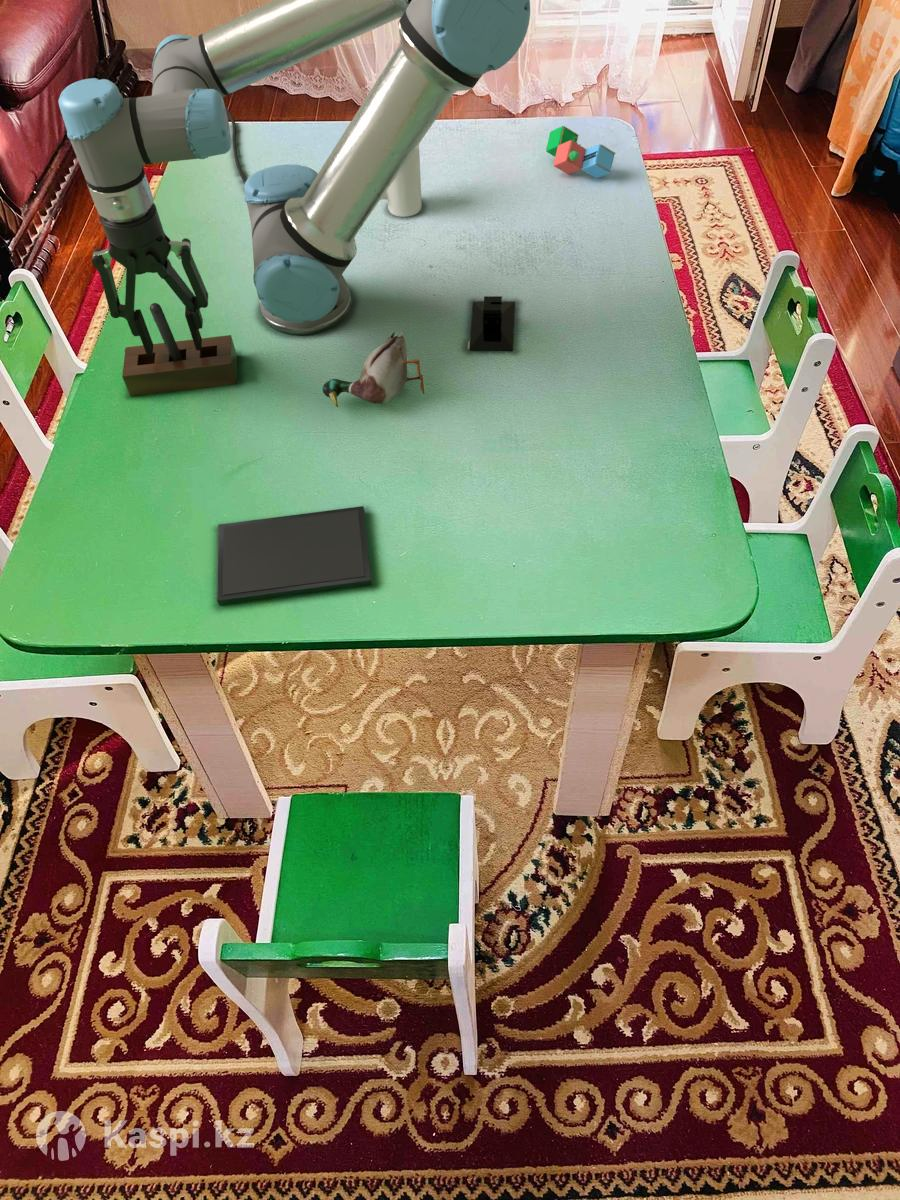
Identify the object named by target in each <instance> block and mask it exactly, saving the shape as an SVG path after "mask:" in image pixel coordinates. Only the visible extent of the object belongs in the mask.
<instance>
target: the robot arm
mask: <svg viewBox="0 0 900 1200" xmlns="http://www.w3.org/2000/svg"><path fill="white" fill-rule="evenodd" d="M397 19H399V20H398V22H397V25H398V32H399V38H400V39H399V44H398V45H397V46H398V47H397V48H396V50H395V51H394V53H393V54H392V55H391V57H390V59H389V61H388V62H387V63H386V66H385V67H384V68H383V70H382V72H381V73H380V75H379V76H378V78H377V79H376V82H375V83H374V84H373V86H372V87H371V89H370V91H369V92H368V93H367V96H366V97H365V99H364V100H363V102H362V103H361V105H360V106H359V108H358V110H357V111H356V113H355V114H354V116H353V118H352V120H350V123H349V124H348V126H347V127H346V129H345V131H344V132H343V134H342V135H341V137H340V138H339V140H338V141H337V143H336V144H335V146H334V147H333V149H332V151H331V153H330V154H329V156H328V157H327V158H326V161H325V162H324V163H323V165H322V167H321V169H320V170H319V172H317V171H316V170H314V169H312V168H311V167H308V166H306V165H301V164H278V165H273V166H269V167H266V168H262V169H260V170H258V171H256V172H254V173H253V174H252V175H250V176H249V177H248V178H246V176H245V174H244V171H243V169H242V166H241V162H240V159H239V155H238V147H237V124H236V121H235V118H234V117H233V115H232V113H231V111H230V110H229V109H228V108H226V105H225V101H224V98H225V97H226V96H228V95H231V94H232V93H235V92H236V91H239V90H242V89H243V88H246V87H249V86H250V85H252V84H254V83H257V82H259V81H261V80H263V79H266V78H268V77H270V76H272V75H275V74H277V73H279V72H281V71H284V70H286V69H288V68H290V67H293V66H295V65H297V64H299V63H301V62H304V61H306V60H308V59H310V58H313V57H315V56H318V55H320V54H321V53H324V52H326V51H328V50H330V49H333V48H335V47H338V46H340V45H342V44H343V43H346V42H348V41H351V40H353V39H356V38H358V37H360V36H363V35H364V34H366V33H368V32H371V31H374V30H376V29H377V28H381V27H382V26H384V25H387V24H389V23H391V22H393V21H395V20H397ZM530 20H531V0H271V1H269V2H266V3H265V4H263V5H261V6H259V7H256V8H255V9H252V10H250V11H249V12H248V11H247V12H246V13H244V14H242V15H239V16H237V17H235V18H233V19H231V20H229V21H226V22H224V23H222V24H220V25H218V26H216V27H214V28H211V29H209V30H207V31H205V32H203V33H201V34H199V35H196V36H193V37H192V36H190V35H187V34H172V35H169V36H167V37H165V38H163V39H162V41H161V42H160V43H159V44H158V46H157V47H156V50H155V53H154V56H153V60H152V65H151V79H152V88H151V95H146V96H138V97H137V96H136V97H123V94H122V93H121V92H120V90H119V88H118V86H117V85H116V84H115V83H114V82H113V81H111V80H110V79H105V78H102V79H99V78H96V77H92V78H85V79H80V80H77V81H75V82H73V83H70V84H69V85H68V86H66V87H65V88H63V90H62V91H61V93H60V95H59V98H58V106H59V110H60V113H61V116H62V119H63V122H64V126H65V129H66V135H67V138H68V139H69V141H70V143H71V146H72V149H73V151H74V154H75V156H76V159H77V161H78V164H79V166H80V168H81V171H82V174H83V176H84V179H85V182H86V186H87V188H88V191H89V193H90V196H91V200H92V201H93V205H94V207H95V209H96V212H97V214H98V215H99V221H100V223H101V225H102V228H103V231H104V233H105V236H106V239H107V241H108V248H105V249H101V248H93V251H92V258H91V259H92V260H91V263H92V265H93V267H94V268H95V270H96V271H97V272H98V274H99V277H100V280H101V284H102V289H103V291H104V295H105V298H106V299H105V300H106V303H107V307H108V310H109V313H110V316H111V318H113V319H118V318H122V319H125V320H126V321H127V325H128V327H129V329H130V332H131V334H132V336H133V337H139V338H140V340H141V341H140V342H141V343H142V345H143V346H144V349H145V351H146V354H147V356H152V355H153V344H154V343H153V340H152V337H151V334H150V331H149V329H148V326H147V324H146V321H145V317H144V315H143V313H142V310H141V309H139V308H138V309H135V301H136V283H137V282H136V281H137V279H136V278H137V276H139V275H140V276H141V275H143V274H146V273H150V274H158V276H159V277H160V279H162V280H164V281H165V282H166V284H167V285H168V287H169V288H170V289H171V290H172V291H173V293H174V294H175V295H176V296H177V298H178V299H179V300H180V302H181V303H182V304H183V305H184V307H185V309H184V316H185V319H186V323H187V326H188V329H189V332H190V335H191V338H192V340H193V341H194V344H195V348H196V351H198V350H201V348H202V335H201V331H200V330H201V329H203V326H204V325H203V324H204V319H203V317H202V312H201V308H203V309H206V308H207V307H208V306H209V293H208V290H207V288H206V286H205V283H204V281H203V278H202V276H201V273H200V271H199V269H198V266H197V264H196V262H195V259H194V257H193V255H192V245H191V244H192V243H191V240H190V238H188V237H187V238H186V237H185V238H182V240H181V241H178V240H177V241H176V240H171V239H170V237H169V236H168V235H166V233H165V231H164V228H163V224H162V221H161V219H160V218H161V217H160V215H159V211H158V209H157V206H156V204H155V202H154V196H153V193H152V189H151V187H150V183H149V180H148V178H147V174H146V172H145V168H144V165H153V164H159V163H169V162H170V163H171V162H178V161H179V162H181V161H191V160H198V159H199V160H205V159H208V158H210V157H215V156H220V155H225V154H227V153H229V152H230V150H231V148H233V149H232V150H233V156H234V161H235V166H236V169H237V171H238V173H239V176H240V178H241V180H242V182H243V185H244V186H243V191H244V202H245V203H246V205H247V209H248V215H249V220H250V228H251V230H250V231H251V240H252V241H251V245H252V246H251V247H252V258H253V259H252V260H253V283H254V287H255V289H256V294H257V297H258V303H259V305H258V306H259V310H260V314H261V317H262V319H263V321H264V322H265V324H266V325H267V326H268V327H270V328H271V329H274V330H276V331H278V332H280V333H283V334H287V335H288V334H289V335H312V334H316V333H320V332H323V331H326V330H328V329H330V328H333V327H335V326H336V325H338V324H339V323H340V322H341V321H343V320H344V319H345V318H346V317H347V315H348V314H349V312H350V310H351V307H352V296H351V291H350V289H349V288H350V287H349V285H348V282H347V281H346V279H345V277H344V276H343V274H344V273H345V271H346V269H347V268H348V267H349V265H350V264H351V263H352V261H353V260H354V258H355V256H356V255H357V253H358V248H357V242H356V239H355V237H356V236H357V234H358V232H359V231H360V230H361V228H362V227H363V225H364V224H365V223H366V221H367V219H368V218H369V217H370V216H371V214H372V213H373V211H374V210H375V208H376V207H377V205H378V204H379V202H380V201H381V200H380V199H381V198H382V196H383V195H384V194H385V192H386V191H387V189H388V188H389V186H390V185H391V183H392V182H393V181H394V179H395V178H396V176H397V175H398V173H399V172H400V170H401V169H402V168H403V166H404V165H405V163H406V162H407V160H408V159H409V158H410V156H411V155H412V153H413V152H414V150H415V149H416V147H417V146H418V145H419V146H420V143H421V142H422V140H423V139H424V137H425V136H426V134H427V133H428V131H429V130H430V129H431V127H432V126H433V124H434V123H435V122H436V120H437V118H438V117H439V116H440V115H441V113H442V112H443V110H444V109H445V107H446V106H447V104H448V103H449V101H450V100H451V98H452V97H453V96H454V94H455V93H457V92H462V91H469V90H470V91H471V90H473V89H474V88H475V86H476V85H477V83H478V82H479V81H480V79H481V78H482V77H483V75H485V74H487V73H488V72H491V71H497V70H499V69H501V68H502V67H504V66H505V65H506V64H507V63H509V62H510V61H511V60H512V59H513V58H514V56H515V55H516V54H517V53H518V52H519V50H520V48H521V47H522V44H523V42H524V40H525V38H526V36H527V33H528V29H529V25H530ZM229 120H230V122H231V125H232V136H231V129H230V128H231V127H230V123H229ZM171 252H173V253H174V254H175V257H176V258H177V259H178V260H180V261H181V265H182V268H183V270H184V273H185V275H186V277H187V279H188V281H189V284H190V287H191V289H190V288H189V286H188V284H187V283H186V282H185V281H184V280H183V278H182V277H181V276H180V274H179V273H178V272H177V271H176V269H175V268H174V267H173V265H172V263H171V261H170V259H169V255H170V253H171ZM112 259H113V260H114V261H116V262H117V263H119V265H121V266H122V267H124V268H125V270H126V272H125V295H124V304H121V301H120V297H119V293H118V289H117V285H116V282H115V277H114V274H113V269H112V266H111V265H112ZM192 290H193V291H192Z"/></svg>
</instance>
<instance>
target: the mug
mask: <svg viewBox="0 0 900 1200" xmlns="http://www.w3.org/2000/svg"><path fill="white" fill-rule="evenodd" d="M420 155H421V154H420V144H419V145H418V146H417V147H416V149H415V150H414V152H413V153H412V155H411V156H410V158H409V159H408V160H407V162H406V163H405V165H404V166H403V168H402V169H401V170H400V172H399V173H398V175H397V176H396V178H395V179H394V181H393V182H392V183H391V185H390V186H389V188H388V189H387V191H386V192H385V194H384V195H383V196H382V198H381V199H380V201H382V200H386V202H387V208H388V212H389V213H390V214H391V215H393V216H396V217H399V218H400V217H401V218H407V217H412V216H415V215H417V214H418V213H419V212H420V211H421V210H422V207H423V206H422V205H423V204H422V203H423V202H422V181H421V180H422V179H421V159H420V158H421V157H420Z"/></svg>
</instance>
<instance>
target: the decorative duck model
mask: <svg viewBox="0 0 900 1200" xmlns="http://www.w3.org/2000/svg"><path fill="white" fill-rule="evenodd" d="M395 334H396V332H395V331H394V332H393V333H392V334H390V335H389V337H387V338H386V339H385V341H384V342H383V343H382V344H381V345H380V346H379V347H377V348H376V349H374V350H373V351H372V352H371V353H369V355H367V357H366V359H365V360H364V363H363V366H362V370H361V373H360V377H359V378H358V379H357V380H356V381H348V380H347V381H346V380H342V379H338V378H331V379H330V380H328V381H326V382H325V383H324V384H323V386H322V393H323V394H324V396H326V397H328V398H329V399H330V400H332V402H333V403H334V405H335V407H336V408H339V403H338V397H339V396H340V395H341V394H342V393H347V394H351V395H353V396H355V397H356V398H357V397H358V398H360V399H361V400H364V401H365V402H368V403H371V404H376V405H382V404H385V403H388V402H391V401H392V400H393V399H395V398H397V396H398V395H399V394H400V393H401V392H402V390H403V389H404V387H405V385H406V383H408V382H410V381H415V380H420V389H421V391H422V394H423V395H425V382H424V375H423V374H421V362H420V359H419V358H417V359H414V360H413V359H412V360H408V348H407V347H408V346H407V341H406V338H405V335H404V333H403V332H402V331H399V333H398V334H396V335H395ZM408 364H416V372H417V375H418V376H412V377H408Z"/></svg>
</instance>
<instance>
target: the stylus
mask: <svg viewBox="0 0 900 1200" xmlns="http://www.w3.org/2000/svg"><path fill="white" fill-rule="evenodd" d="M149 311H150V313H151V316H152V319H153V320H154V323H155V325H156V327H157V329H158V331H159V334H160V336H161V338H162V340H163V343H165V345H166V347H167V350H168V352H169V354H170V356H171V359H172V361H180V360H183V358H182V355H181V353H180V351H179V348H178V346H177V344H176V341H177V340H176V339H175V336H174V334H173V332H172V330H171V328H170V325H169V323H168V320H167V318H166V315H165V313H164V310H163V308H162V306H161V305H160V304H159V303H157V302H153V303H151V304H150V305H149Z"/></svg>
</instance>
